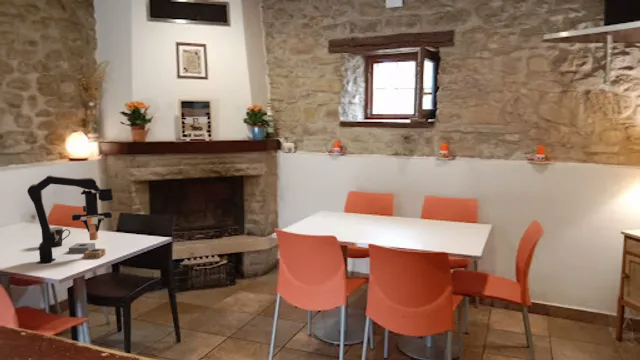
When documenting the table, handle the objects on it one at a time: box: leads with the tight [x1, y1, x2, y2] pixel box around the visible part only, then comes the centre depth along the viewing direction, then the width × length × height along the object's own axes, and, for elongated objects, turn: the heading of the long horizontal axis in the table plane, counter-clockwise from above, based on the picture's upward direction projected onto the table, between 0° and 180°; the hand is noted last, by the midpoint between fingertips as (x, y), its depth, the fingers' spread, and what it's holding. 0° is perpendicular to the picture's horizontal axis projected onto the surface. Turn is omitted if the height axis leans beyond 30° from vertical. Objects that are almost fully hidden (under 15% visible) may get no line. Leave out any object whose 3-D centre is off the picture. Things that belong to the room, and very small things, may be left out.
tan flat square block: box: [83, 248, 106, 260], centre depth 267 cm, size 8×8×3 cm
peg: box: [88, 223, 99, 241], centre depth 265 cm, size 3×3×8 cm
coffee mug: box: [50, 226, 71, 248], centre depth 288 cm, size 12×9×10 cm
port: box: [68, 242, 96, 254], centre depth 278 cm, size 10×10×3 cm
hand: (93, 231), depth 265 cm, fingers closed on peg, 4 cm apart
